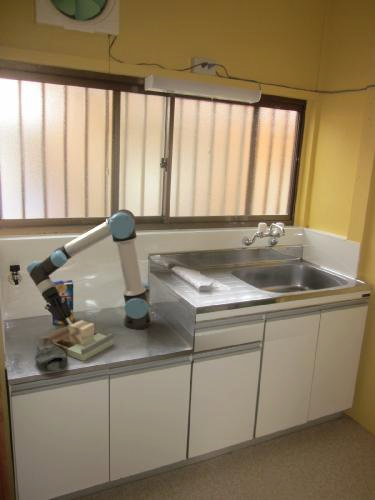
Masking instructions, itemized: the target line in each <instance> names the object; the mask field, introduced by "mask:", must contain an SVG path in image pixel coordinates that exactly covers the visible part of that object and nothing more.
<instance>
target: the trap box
mask: <svg viewBox="0 0 375 500" xmlns="http://www.w3.org/2000/svg"><path fill="white" fill-rule="evenodd" d="M98 333H99V332H98V331H97V332H96V331H94V335H96V334H98ZM42 338H49V339H51V340H52V341H53V342H54V345H55V346H58V347H59V348H61V349H62V350H63V351H64V352H65V354H66V355H67V356H69V355H68V348H70V347H72V346H74V345H76V344H77V343H74V342H71V341H70V331H69V329H68V328H67V326H65V325H64V326H62V327H61V328H59V329H56V330H54V331H52V332H50V333H47V334H45V335H43V336H41V337H39V341H40V340H41V339H42Z"/></svg>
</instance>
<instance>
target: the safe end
mask: <svg viewBox="0 0 375 500" xmlns="http://www.w3.org/2000/svg"><path fill="white" fill-rule="evenodd" d="M97 333H98V334H96V335H94V340H92V341H90V342H88V343H86V344H84V345H83V346H82V345H79V344H76V345H74V346H72V347H70V348H68V355H67V356H70V357H72V358H74V359H77V360H80V361H81V362H84V361H86V360H88V359H90V358H91V357H93V356H94V355H96V354H99V353H100V352H102V351H104V350H105V349H107V348H108V347H110V346H113V345H114V333H109V334H108V335H104V334H103V333H99V332H97ZM87 358H88V359H87Z"/></svg>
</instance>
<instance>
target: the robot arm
mask: <svg viewBox="0 0 375 500" xmlns="http://www.w3.org/2000/svg"><path fill="white" fill-rule="evenodd" d="M135 225H136V217H135V215H134V214H133V212H132V211H130V210H129V209H125V208H124V209H119V210H117V211H116V212H115V213H113V214H112V215H110V216H109V217H107V218H106V219H105V221H104V222H102V223H101V224H99V225H97V226H96V227H94V228H92V229H90V230H88V231H87V232H85V233H83V234H81V235H80V236H78V237H76V238H75V239H72V240H71V241H69V242H68V243H67V242H66V244H64V245H62V246H59V247H58V248H56V249H55V250H54V251H53V252H52V253H51V254H50V255H49V256H48V257H46V258H45V259H44V260H42V261H39V260H37V261H36V260H35V261H33V262H31V263H30V264H28V265H27V266H26V271H27V274H29V277H30V278H31V280H32V281H33V283H34V285H35V286H36V288H37V289H38V292H40V294H41V296H42V298H43V299H44V301H46V304H45V306H44V309H45V310H47V311H48V312H49V313H50V314H52V315H53V316H54V317H55V318H56V319H57V321H60V322H63V323H62V324H63V325H64V327H65V326H67V328H68V329H69V331H70V325H72V324H73V323H72V321H71V319H70V316H71V315H72V314H71V311H70V308H69V306H68V303H67V298H66V297H65V298H62V297H61V296H60V295H59V292H58V290H57V288H56V287H54V286H55V285H54V284H53V282H52V281H53V280H52V279H51V277H50V275H51V274H53V273H55V272H56V271H57V270H59V269H60V268H62V267H63V266H64V265H65V264H67V262H68V260H70V259H72V258H73V257H75V256H77V255H78V254H81V253H82V252H84V251H86V250H87V249H89V248H91V247H93V246H95V245H97V244H99V243H100V242H101V241H102V242H103V241H104V240H106V239H107V238H109V237H112V242H114V243H115V244H116V245H117V252H118V257H119V262H120V267H121V268H120V269H121V273H122V277H123V278H122V279H123V283H124V288H125V289H124V291H122V292H123V299H124V312H125V315H124V318H123V325H124V327H127V328H129V329H133V330H143V329H147V328H149V327H151V326H152V318H151V313H150V309H149V308H150V292H151V289H150V288H151V287H150V285H149V284H148V283H144V282H142V277H141V272H140V266H139V261H138V254H137V250H136V244H135V240H136V239H137V237H138V236H137V233H136V232H137V231H136V226H135Z"/></svg>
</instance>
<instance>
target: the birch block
mask: <svg viewBox="0 0 375 500" xmlns="http://www.w3.org/2000/svg"><path fill="white" fill-rule="evenodd" d="M94 332H95V323H91V322H89V321H87V320H86V321H85V320H82V319H81V320H78V321H76V322H73V323H72V325H70V341H71V342H74V343H77V344H79V345H82V346H83V345H84V344H86V343H88V342H90V341H92V340H94Z"/></svg>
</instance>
